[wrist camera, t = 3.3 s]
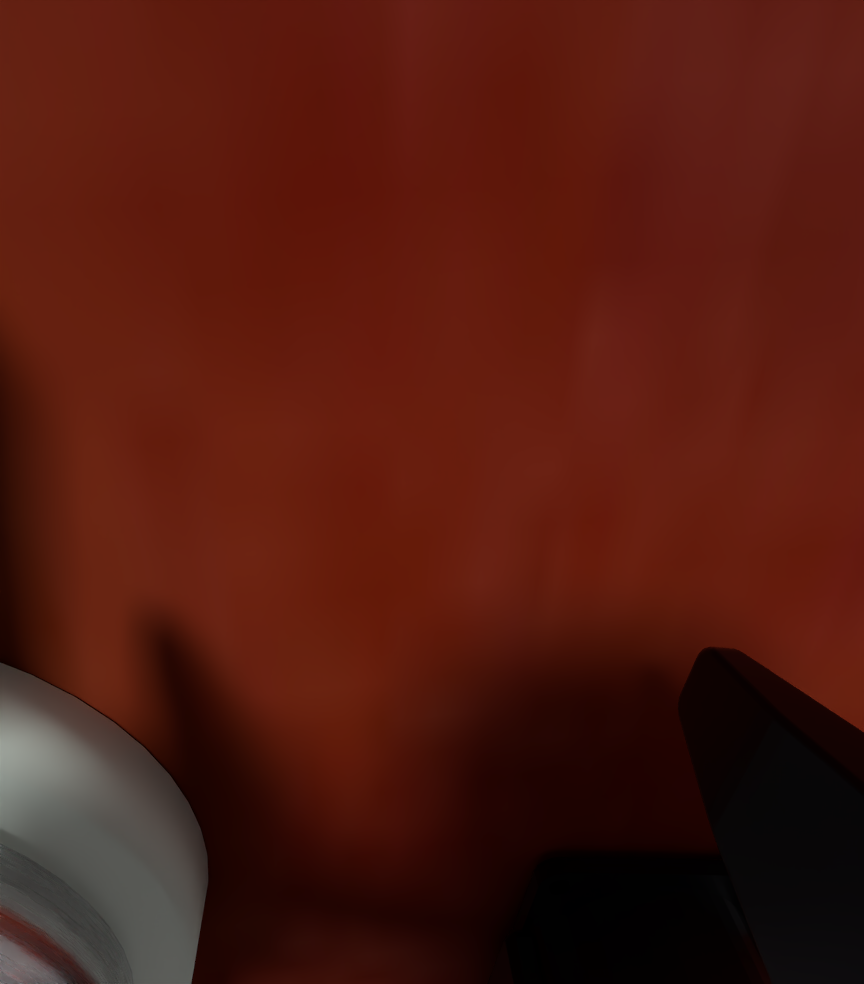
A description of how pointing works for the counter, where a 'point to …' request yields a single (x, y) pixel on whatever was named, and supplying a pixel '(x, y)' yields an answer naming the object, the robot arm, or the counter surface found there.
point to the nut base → (103, 823)
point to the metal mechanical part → (52, 930)
